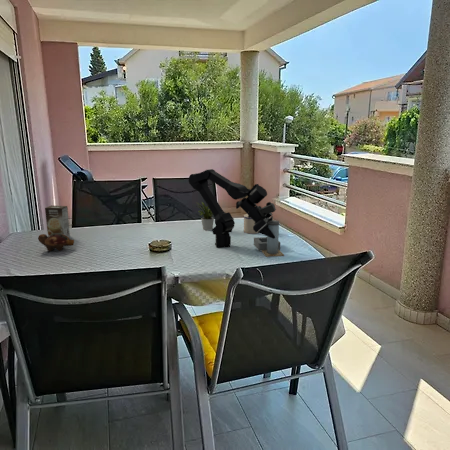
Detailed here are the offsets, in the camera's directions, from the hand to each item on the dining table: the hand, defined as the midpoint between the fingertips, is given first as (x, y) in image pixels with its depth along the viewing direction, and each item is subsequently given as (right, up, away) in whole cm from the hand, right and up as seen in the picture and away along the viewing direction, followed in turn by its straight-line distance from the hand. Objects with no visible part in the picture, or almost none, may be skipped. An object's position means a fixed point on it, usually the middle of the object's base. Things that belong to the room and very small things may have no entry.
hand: (276, 235), depth 172 cm
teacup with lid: (-8, +1, +40) cm, 41 cm away
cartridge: (-1, -8, +2) cm, 8 cm away
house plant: (-33, +2, +45) cm, 56 cm away
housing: (-3, -6, +11) cm, 13 cm away
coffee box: (-108, -2, +29) cm, 112 cm away
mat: (-1, -8, +2) cm, 9 cm away
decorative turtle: (-100, -7, +9) cm, 101 cm away
